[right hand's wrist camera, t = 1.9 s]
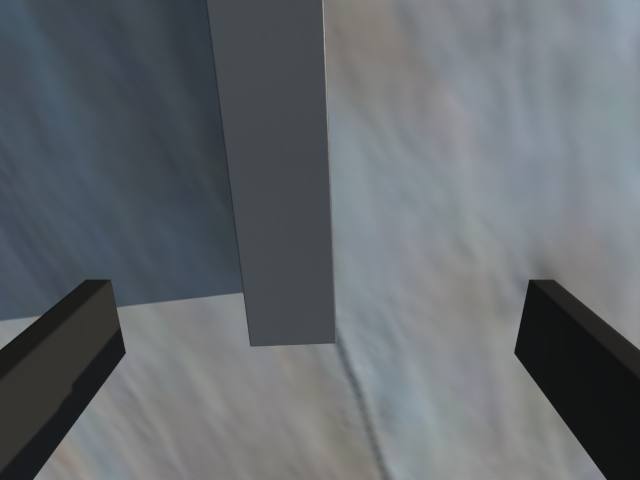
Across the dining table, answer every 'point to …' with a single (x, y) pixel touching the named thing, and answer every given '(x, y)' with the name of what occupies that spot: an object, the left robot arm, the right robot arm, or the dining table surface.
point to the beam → (278, 163)
